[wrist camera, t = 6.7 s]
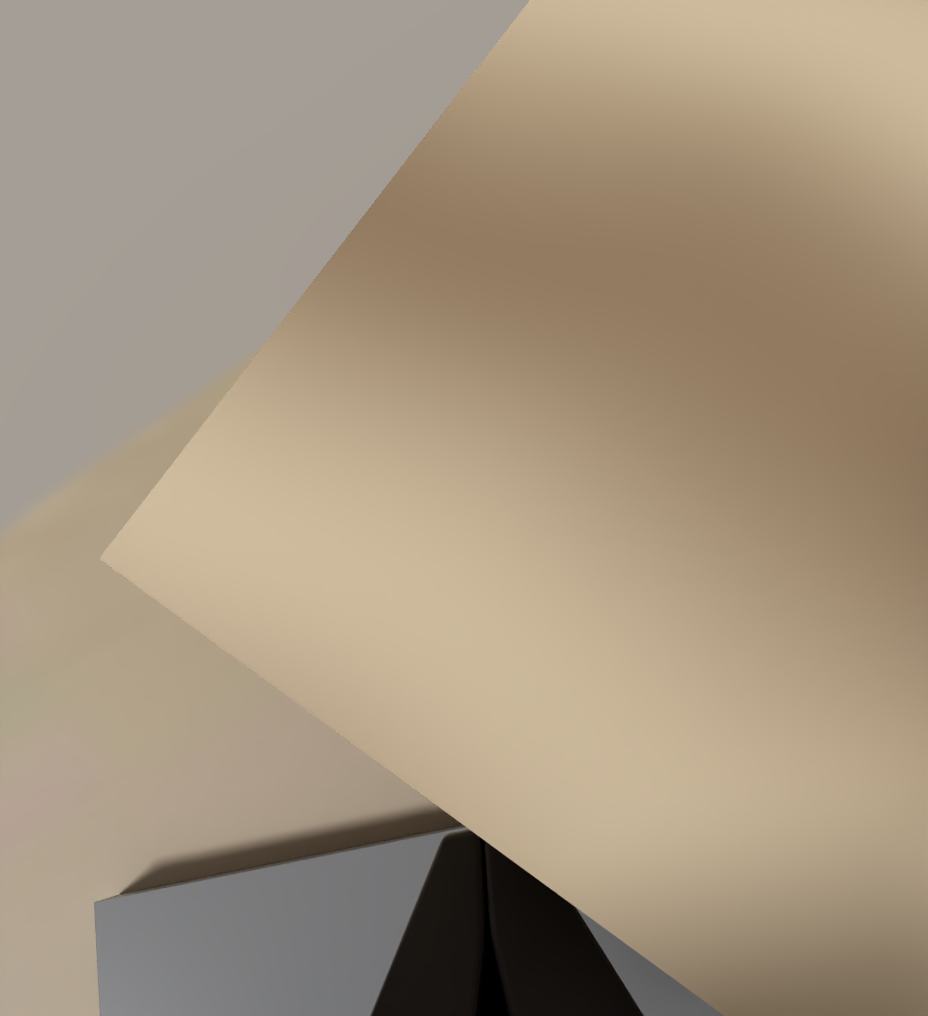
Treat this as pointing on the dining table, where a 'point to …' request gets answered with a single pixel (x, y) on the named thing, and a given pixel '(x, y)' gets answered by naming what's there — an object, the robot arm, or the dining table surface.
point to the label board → (297, 939)
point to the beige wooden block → (620, 487)
